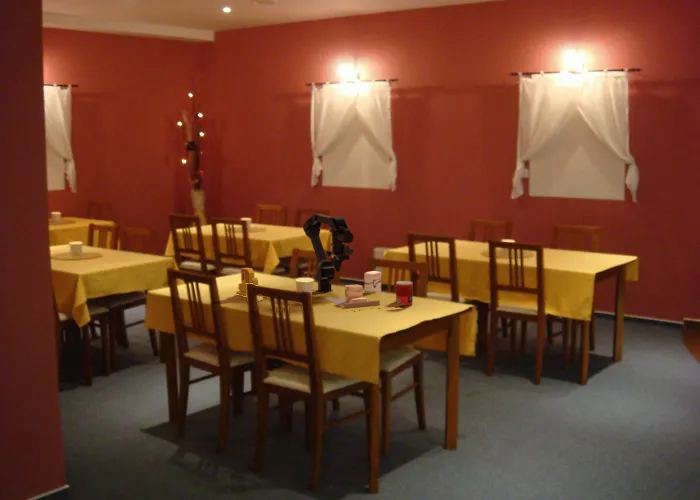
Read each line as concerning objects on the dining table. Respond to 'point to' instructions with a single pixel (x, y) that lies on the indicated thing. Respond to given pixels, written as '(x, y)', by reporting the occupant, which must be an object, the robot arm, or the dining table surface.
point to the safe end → (360, 304)
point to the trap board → (338, 300)
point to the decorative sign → (246, 280)
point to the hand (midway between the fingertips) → (337, 271)
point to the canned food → (404, 292)
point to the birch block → (354, 294)
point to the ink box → (372, 282)
